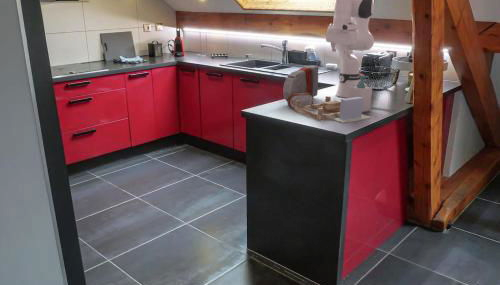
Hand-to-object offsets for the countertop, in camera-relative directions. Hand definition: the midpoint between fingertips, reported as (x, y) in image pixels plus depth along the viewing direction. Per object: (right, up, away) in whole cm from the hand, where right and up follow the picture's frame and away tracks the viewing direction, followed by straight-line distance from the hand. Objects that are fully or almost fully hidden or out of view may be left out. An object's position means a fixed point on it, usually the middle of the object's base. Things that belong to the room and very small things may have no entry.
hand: (339, 52), depth 220 cm
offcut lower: (-4, -31, +5) cm, 32 cm away
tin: (-19, -28, +13) cm, 36 cm away
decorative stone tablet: (-17, -23, +27) cm, 40 cm away
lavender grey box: (+4, -34, -7) cm, 35 cm away
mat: (+4, -35, -7) cm, 36 cm away
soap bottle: (+12, -29, +11) cm, 33 cm away
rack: (-7, -31, +3) cm, 32 cm away
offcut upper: (-4, -28, +4) cm, 29 cm away
